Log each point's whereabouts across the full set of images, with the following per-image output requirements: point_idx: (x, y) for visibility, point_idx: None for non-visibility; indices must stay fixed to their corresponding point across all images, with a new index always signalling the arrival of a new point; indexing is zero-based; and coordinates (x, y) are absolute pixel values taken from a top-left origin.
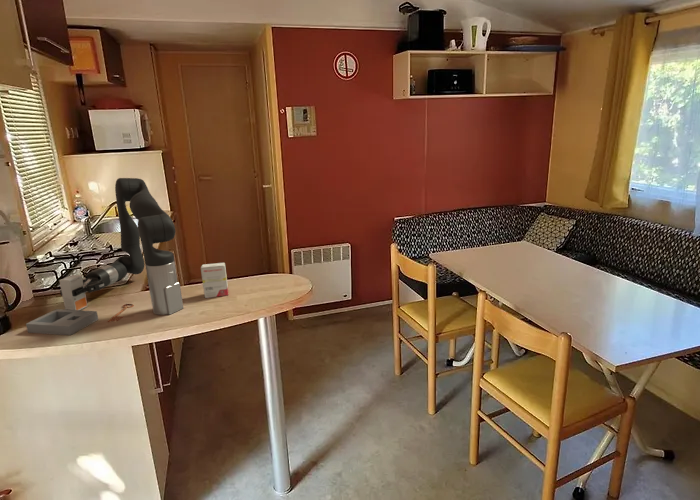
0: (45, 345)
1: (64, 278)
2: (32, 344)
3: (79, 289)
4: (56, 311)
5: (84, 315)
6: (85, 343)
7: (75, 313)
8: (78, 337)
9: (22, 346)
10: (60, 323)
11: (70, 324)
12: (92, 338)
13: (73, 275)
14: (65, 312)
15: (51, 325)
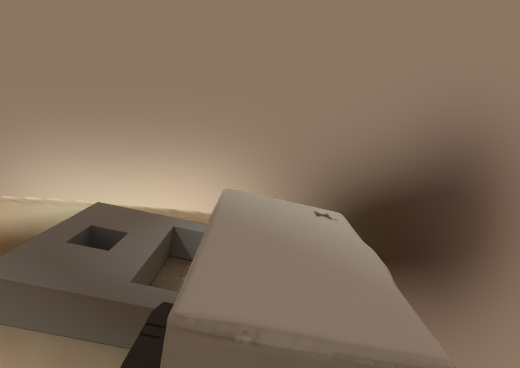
0: (147, 210)
1: (346, 234)
2: (186, 218)
3: (149, 349)
4: None
5: (49, 245)
6: (34, 197)
7: (107, 267)
8: (63, 219)
9: (204, 217)
10: (137, 218)
11: (95, 207)
12: (12, 208)
13: (360, 313)
14: (177, 294)
15: (163, 216)
